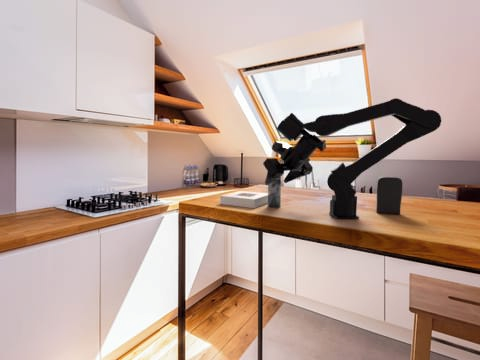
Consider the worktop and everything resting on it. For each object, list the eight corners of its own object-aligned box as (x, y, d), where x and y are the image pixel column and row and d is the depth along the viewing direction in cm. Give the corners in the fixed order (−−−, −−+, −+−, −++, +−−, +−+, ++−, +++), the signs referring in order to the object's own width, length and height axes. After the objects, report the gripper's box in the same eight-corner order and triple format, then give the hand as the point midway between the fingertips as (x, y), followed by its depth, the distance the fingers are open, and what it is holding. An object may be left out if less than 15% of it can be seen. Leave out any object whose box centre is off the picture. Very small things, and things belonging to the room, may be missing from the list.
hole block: (271, 201, 104) (271, 193, 104) (254, 208, 92) (254, 199, 92) (240, 198, 111) (240, 190, 111) (220, 203, 99) (220, 195, 99)
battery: (399, 212, 86) (401, 176, 85) (401, 215, 83) (403, 177, 81) (374, 210, 89) (376, 175, 87) (375, 213, 85) (377, 176, 84)
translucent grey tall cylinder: (279, 205, 97) (279, 174, 96) (281, 207, 93) (282, 175, 92) (266, 205, 97) (267, 174, 96) (268, 207, 93) (269, 175, 91)
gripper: (306, 134, 93) (281, 164, 103) (267, 131, 82) (244, 166, 91) (325, 157, 88) (297, 187, 98) (287, 158, 77) (259, 192, 86)
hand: (275, 183), depth 94 cm, fingers open, 9 cm apart
